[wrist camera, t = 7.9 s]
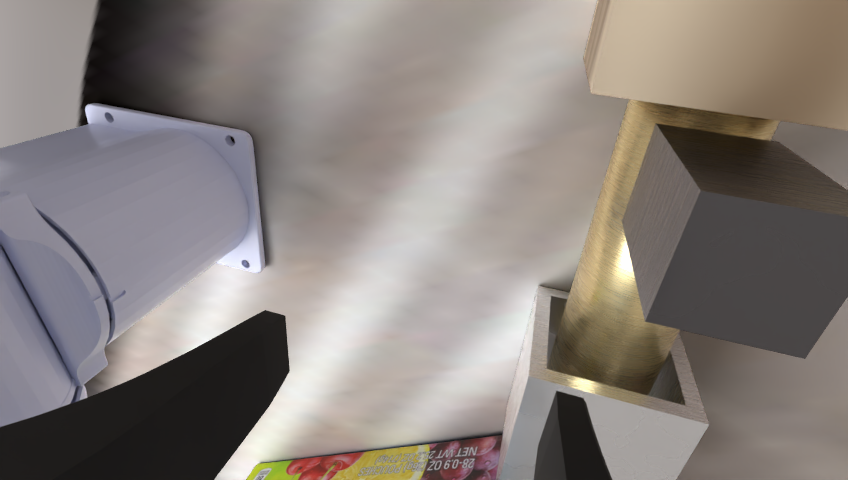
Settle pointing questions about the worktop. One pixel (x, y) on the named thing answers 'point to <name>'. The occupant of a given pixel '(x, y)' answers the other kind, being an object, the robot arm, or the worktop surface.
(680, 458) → the sleeve
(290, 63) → the worktop surface
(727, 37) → the socket block
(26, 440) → the robot arm
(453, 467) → the snack box
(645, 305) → the tube
